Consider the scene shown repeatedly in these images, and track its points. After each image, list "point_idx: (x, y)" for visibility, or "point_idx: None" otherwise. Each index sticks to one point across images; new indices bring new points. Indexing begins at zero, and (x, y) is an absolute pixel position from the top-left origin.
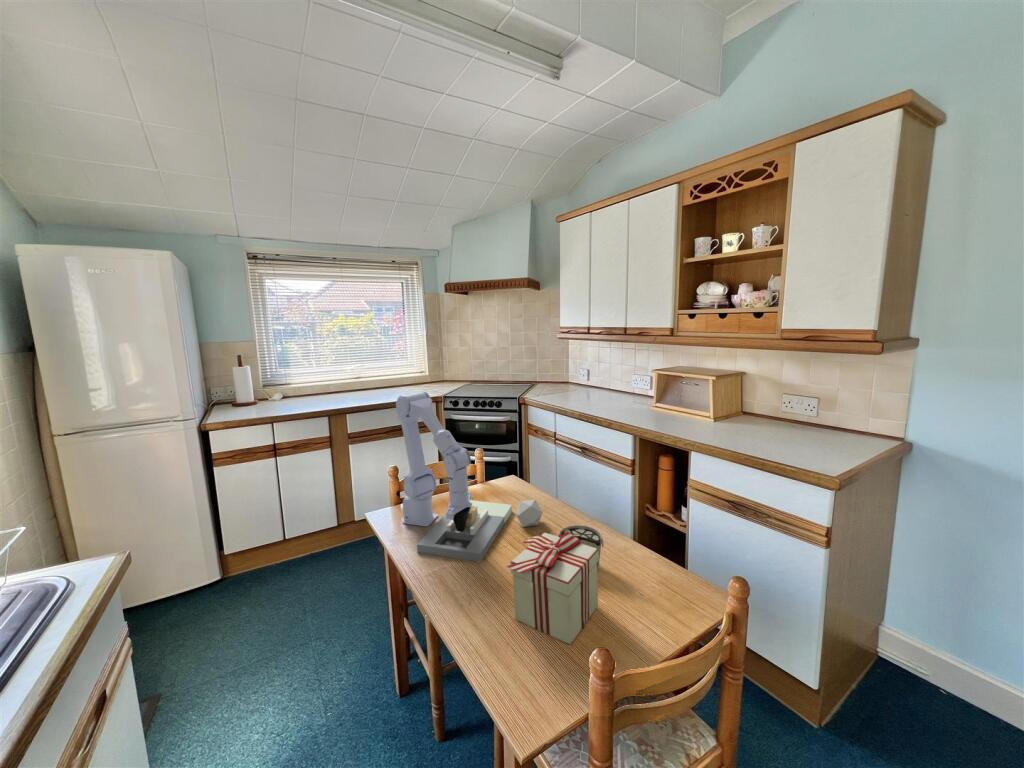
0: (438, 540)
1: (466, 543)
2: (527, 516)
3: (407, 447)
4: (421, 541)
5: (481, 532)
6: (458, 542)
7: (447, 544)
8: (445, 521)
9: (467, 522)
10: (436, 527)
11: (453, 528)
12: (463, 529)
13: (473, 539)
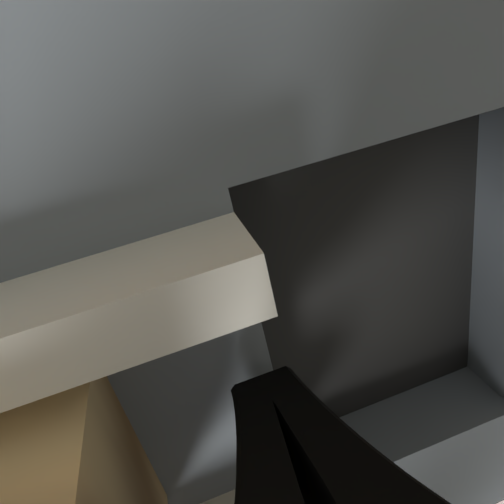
0: (440, 430)
1: (287, 234)
2: None
3: None
4: (500, 493)
5: (106, 149)
6: (303, 311)
7: (368, 359)
8: None
9: (116, 474)
10: None
11: (227, 491)
12: (296, 382)
13: (344, 137)
